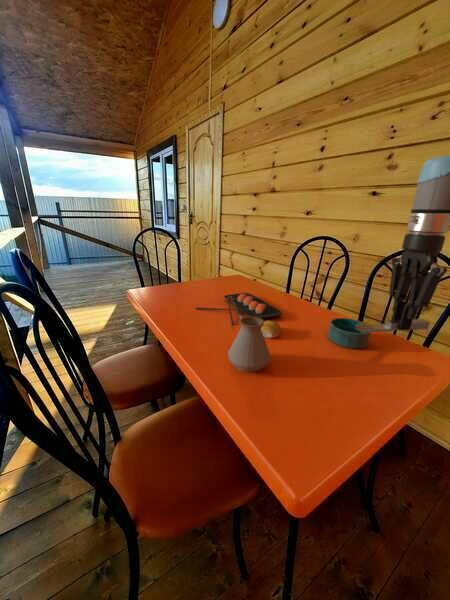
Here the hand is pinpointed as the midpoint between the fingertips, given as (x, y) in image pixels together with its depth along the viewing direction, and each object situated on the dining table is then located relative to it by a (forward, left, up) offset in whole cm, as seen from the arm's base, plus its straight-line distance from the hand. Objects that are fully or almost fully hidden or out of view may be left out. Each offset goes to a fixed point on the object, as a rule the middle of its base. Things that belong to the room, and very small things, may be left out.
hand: (399, 326), depth 66 cm
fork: (+2, 0, 0) cm, 2 cm away
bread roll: (+27, -23, -13) cm, 38 cm away
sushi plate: (+35, -45, -13) cm, 58 cm away
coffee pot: (+39, -10, -13) cm, 42 cm away
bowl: (+2, -16, -12) cm, 20 cm away
